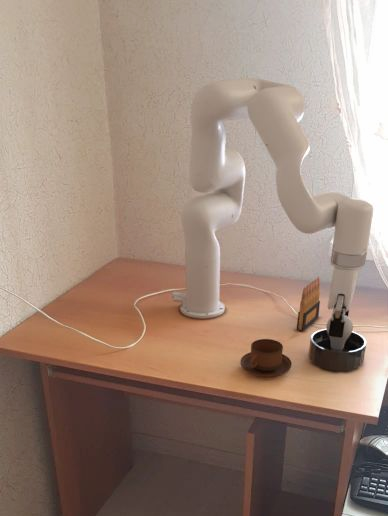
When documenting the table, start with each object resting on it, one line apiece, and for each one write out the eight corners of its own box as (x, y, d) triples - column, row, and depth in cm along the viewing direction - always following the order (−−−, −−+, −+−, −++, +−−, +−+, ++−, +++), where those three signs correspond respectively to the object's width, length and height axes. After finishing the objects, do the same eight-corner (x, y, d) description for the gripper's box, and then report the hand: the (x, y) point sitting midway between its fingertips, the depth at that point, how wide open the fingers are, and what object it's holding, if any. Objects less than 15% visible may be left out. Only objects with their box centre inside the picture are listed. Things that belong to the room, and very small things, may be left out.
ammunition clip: (302, 331, 166) (306, 289, 160) (296, 330, 167) (300, 287, 161) (318, 317, 174) (323, 276, 168) (312, 316, 175) (316, 275, 168)
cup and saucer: (283, 385, 142) (285, 361, 139) (233, 375, 146) (233, 352, 143) (296, 362, 151) (298, 339, 148) (249, 353, 155) (250, 331, 152)
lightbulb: (343, 365, 148) (349, 322, 143) (319, 359, 151) (323, 317, 145) (352, 355, 153) (358, 313, 147) (328, 349, 156) (333, 308, 150)
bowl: (304, 368, 149) (306, 347, 146) (313, 345, 159) (315, 325, 156) (360, 376, 145) (363, 355, 142) (365, 352, 156) (368, 332, 153)
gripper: (336, 244, 147) (327, 311, 156) (325, 268, 133) (316, 341, 142) (369, 247, 145) (358, 315, 154) (361, 273, 131) (350, 346, 140)
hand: (338, 327), depth 148 cm, fingers open, 9 cm apart
